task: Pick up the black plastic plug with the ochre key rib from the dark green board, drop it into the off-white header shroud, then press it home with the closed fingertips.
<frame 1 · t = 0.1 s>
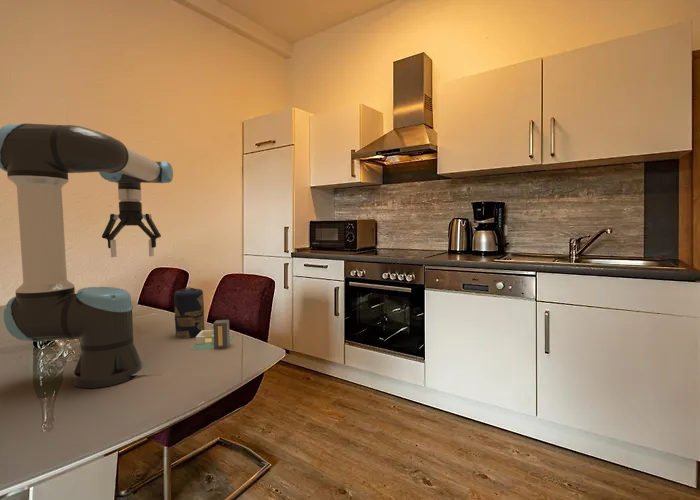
hand: (132, 256, 142), 28 cm above the table, fingers open, 13 cm apart
header: (210, 340, 123), resting on board
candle: (190, 338, 130), on the table
board: (213, 346, 121), on the table
plug: (222, 346, 117), point 1 cm above the table, touching board
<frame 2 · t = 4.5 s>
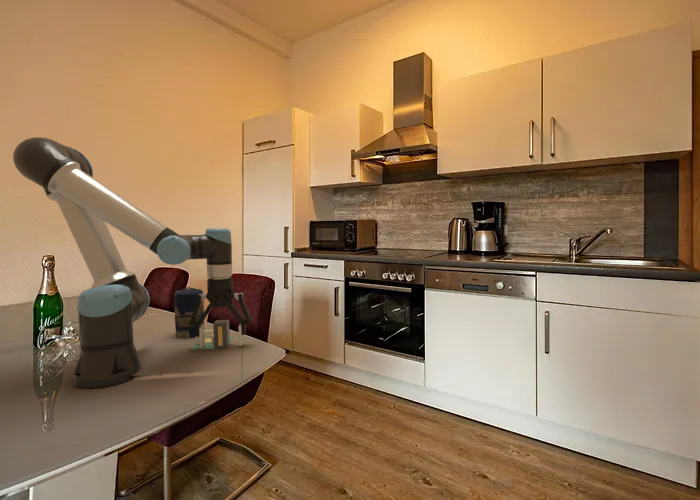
hand: (221, 345, 117), 1 cm above the table, fingers open, 11 cm apart
nothing on the table moved.
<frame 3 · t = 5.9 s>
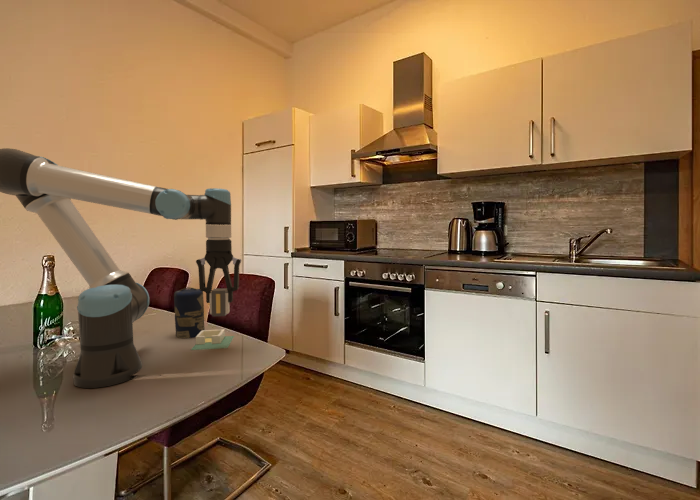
hand: (219, 312, 116), 12 cm above the table, fingers closed on plug, 4 cm apart
plug: (219, 314, 116), point 11 cm above the table, touching gripper
everything else where it was.
when the fingers open (3 cm above the table, at t = 10.1 s): plug stays where it is, resting on header.
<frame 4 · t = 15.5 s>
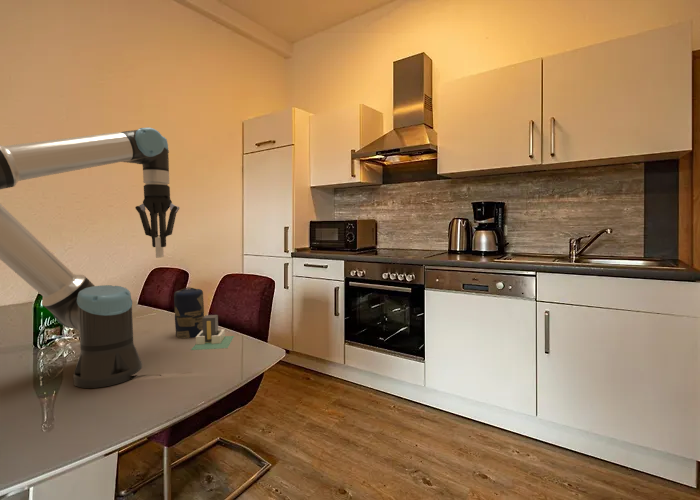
hand: (159, 257, 121), 29 cm above the table, fingers closed
plug: (210, 340, 123), point 1 cm above the table, touching header
everything else where it was.
at the end: plug 0.1 cm off-centre on the header, point 0.1 cm above the header's base; plug point 1.3 cm above the table; plug tilted 0° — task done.
